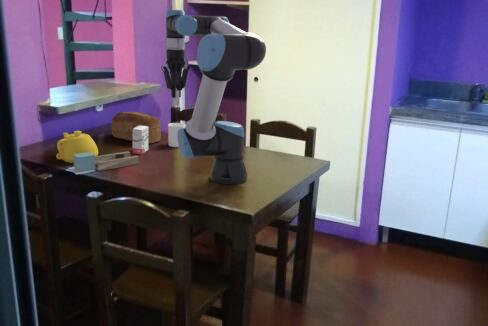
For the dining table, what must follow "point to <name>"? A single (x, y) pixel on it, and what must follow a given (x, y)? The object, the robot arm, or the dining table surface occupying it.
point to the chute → (115, 160)
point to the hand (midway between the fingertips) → (176, 105)
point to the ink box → (140, 139)
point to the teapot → (75, 146)
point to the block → (84, 161)
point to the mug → (174, 133)
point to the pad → (80, 171)
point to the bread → (135, 125)
